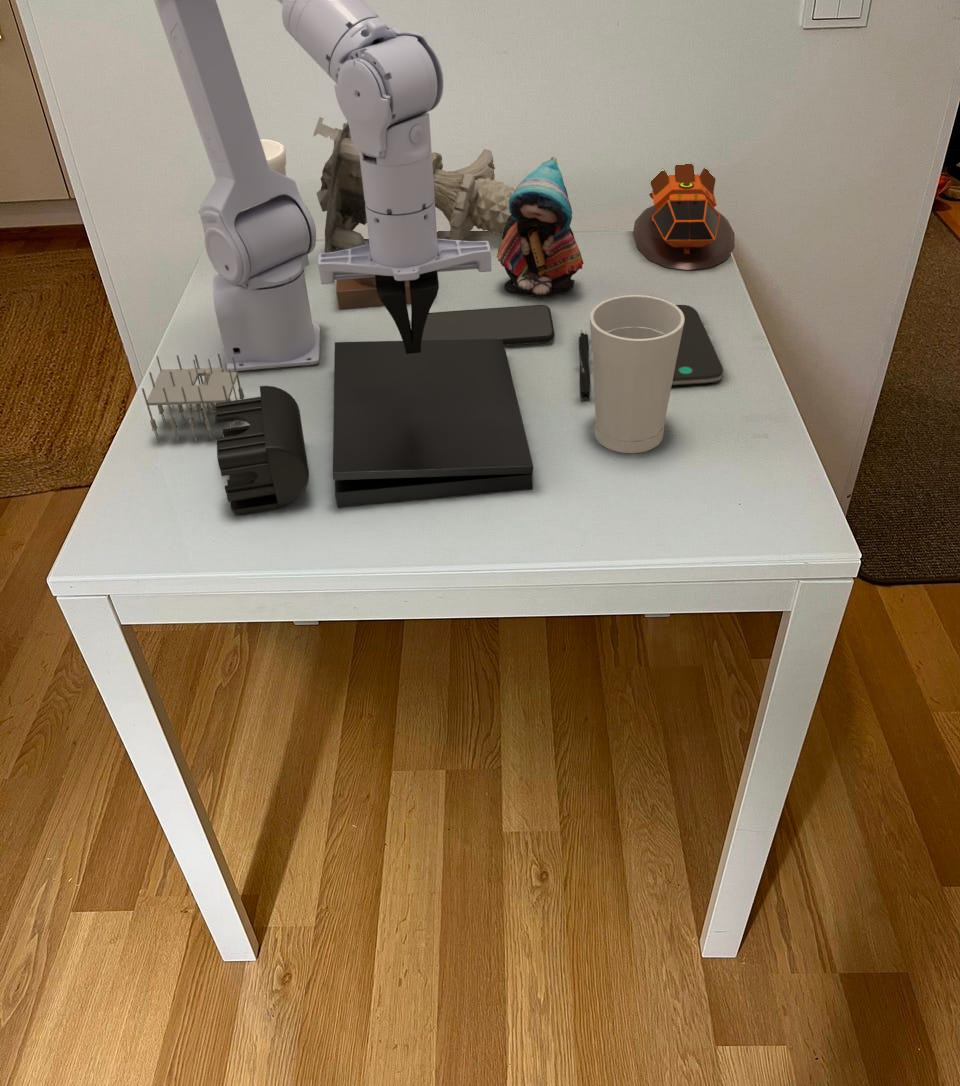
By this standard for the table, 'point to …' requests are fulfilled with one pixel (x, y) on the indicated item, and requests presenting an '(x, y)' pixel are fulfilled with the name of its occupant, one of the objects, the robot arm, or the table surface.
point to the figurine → (540, 236)
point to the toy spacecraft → (684, 222)
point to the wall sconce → (456, 193)
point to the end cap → (262, 451)
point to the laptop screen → (426, 411)
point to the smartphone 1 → (492, 324)
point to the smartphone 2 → (695, 353)
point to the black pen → (584, 365)
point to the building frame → (191, 392)
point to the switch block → (361, 293)
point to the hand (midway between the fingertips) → (412, 347)
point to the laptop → (425, 488)
